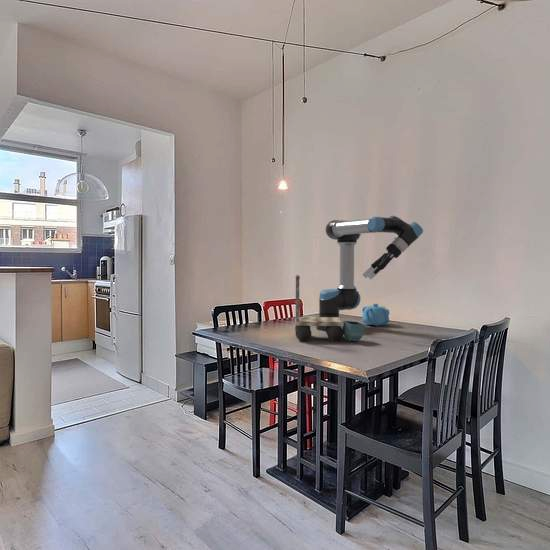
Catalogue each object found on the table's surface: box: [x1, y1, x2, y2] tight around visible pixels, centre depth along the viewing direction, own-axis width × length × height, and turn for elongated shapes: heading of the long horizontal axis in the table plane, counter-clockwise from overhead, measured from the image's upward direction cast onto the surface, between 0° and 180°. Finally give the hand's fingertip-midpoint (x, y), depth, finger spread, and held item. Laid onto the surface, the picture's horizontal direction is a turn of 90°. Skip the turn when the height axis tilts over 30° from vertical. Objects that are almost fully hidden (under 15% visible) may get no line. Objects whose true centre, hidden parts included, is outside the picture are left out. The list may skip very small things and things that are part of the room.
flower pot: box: [342, 320, 367, 342], centre depth 201 cm, size 9×9×9 cm
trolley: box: [294, 274, 344, 343], centre depth 208 cm, size 24×16×33 cm, turn 88°
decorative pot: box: [361, 303, 391, 327], centre depth 251 cm, size 16×16×14 cm
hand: (366, 277), depth 204 cm, fingers open, 13 cm apart
